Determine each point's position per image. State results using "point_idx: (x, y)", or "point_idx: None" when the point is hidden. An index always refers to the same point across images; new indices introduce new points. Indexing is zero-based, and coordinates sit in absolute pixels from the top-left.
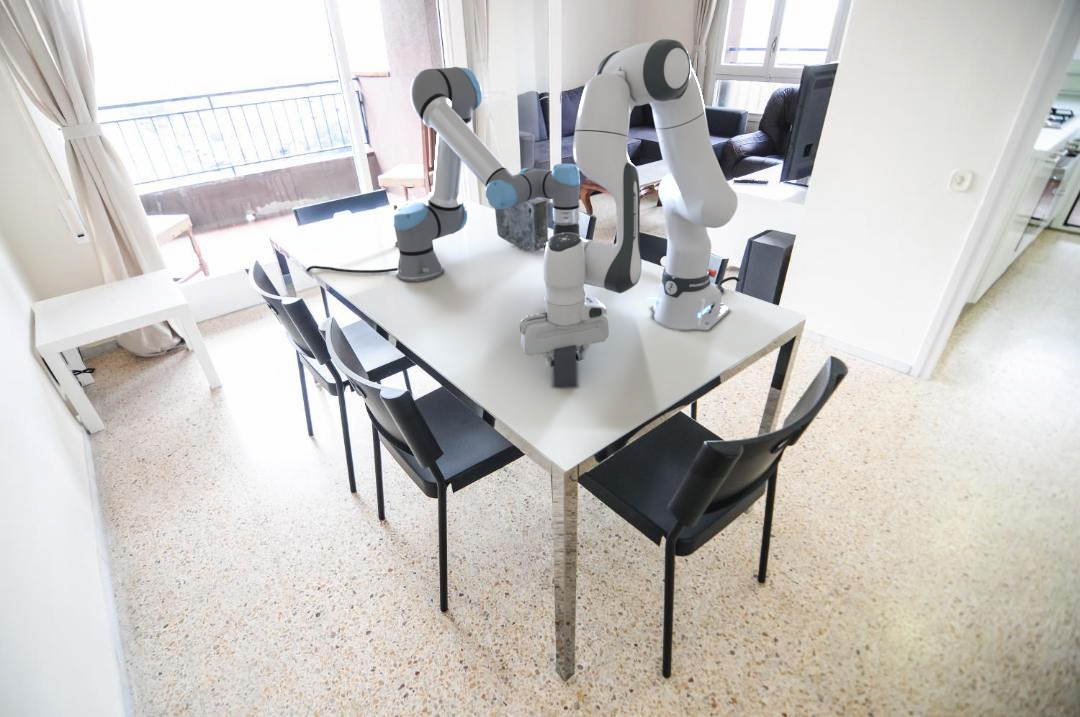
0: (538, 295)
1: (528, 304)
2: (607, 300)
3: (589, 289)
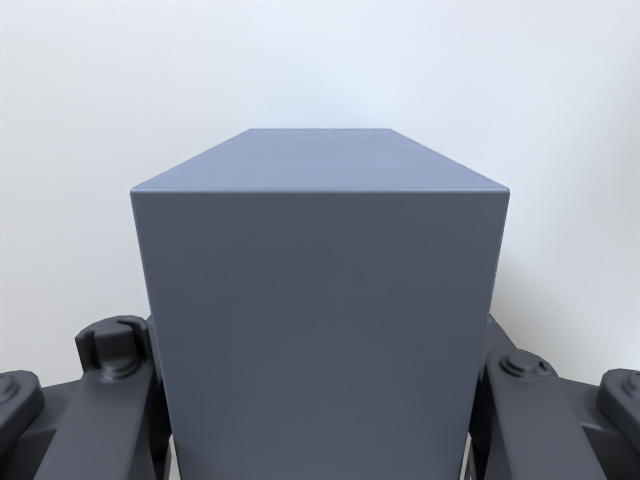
0: (75, 211)
1: (46, 359)
2: (632, 311)
3: (545, 84)
